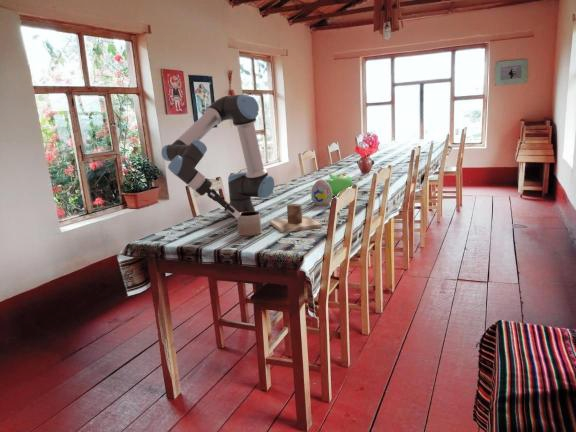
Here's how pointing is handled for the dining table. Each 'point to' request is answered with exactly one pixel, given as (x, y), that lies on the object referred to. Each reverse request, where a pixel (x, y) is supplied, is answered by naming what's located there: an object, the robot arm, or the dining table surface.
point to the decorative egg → (321, 193)
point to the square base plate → (295, 220)
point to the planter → (249, 223)
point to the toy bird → (339, 182)
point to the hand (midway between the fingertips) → (236, 213)
